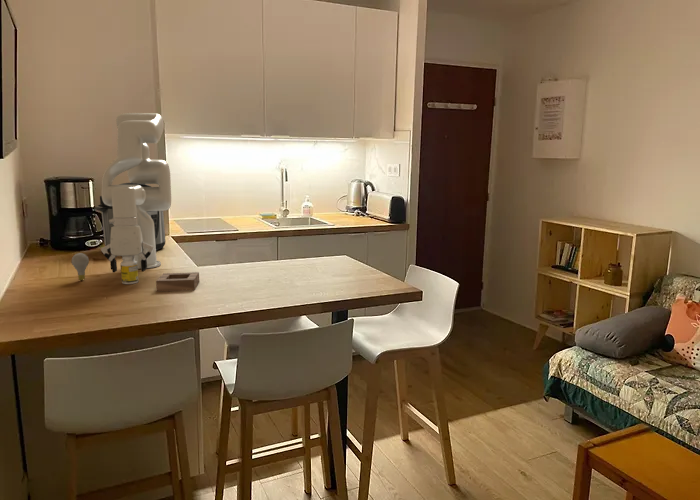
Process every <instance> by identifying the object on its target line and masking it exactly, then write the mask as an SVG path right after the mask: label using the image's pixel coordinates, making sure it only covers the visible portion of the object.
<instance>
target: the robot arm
mask: <svg viewBox="0 0 700 500" xmlns="http://www.w3.org/2000/svg"><path fill="white" fill-rule="evenodd" d="M115 123H116V127H117V138H116V139H117V140H116V142H117V145H116V147H117V148H116V158H115V159H114V160H112V162H111V163H110V164H109V165H107V167H106V169H105V171H104V172H103V175H102V178H101V196H102V200H103V202H104V204H106V205H107V206H113V217H114V218H113V219H110V220H109V223H112V224H113V225H114V227H112V228H111V239H110V244H109V245H107V246H105V245H104V246H103V247H101V248H100V250H101V252H102V253H103V255H104V257H105V258H106V259H108V261H109V263H110V270H111V272H112V273H116V272H117V271H118V263H117V259H116V257H122V256H134V258H135V259H134V261H136V262H137V269H138V270H140V269H141V272H145V271H146V269H153V268H158V267H160V266H161V265H162V263H161V261H159V260H157V250H156V244H155V230H154V222H153V219H152V218H151V217H150V216H149V215H148V214H147V213H146V212H147V211H163V212H164V211H168V210H169V209H171V207H172V185H171V181H172V179H171V171H170V165H169V163H168V162H167V161H166V160H163V159H151V158H150V157H151V156H150V154H151V153H150V152H151V151H150V146H149V145H148V144H158V143H159V142H160V140H161V137H162V135H163V133H164V128H165V123H164V118H163V116H162V115H161V114H159V113H155V112H150V113H149V112H144V113H143V112H126V113H120V114H119V115H117V116H116V118H115ZM125 172H127V178H128V181H129V183H135V184H146V185H151V184H152V185H154V184H155V185H158V186H151V187H141V186H140V185H119V184H113V181H114V180H115V178H116V177H118V176H119V175H120V174H122V173H125ZM109 248H111V252H109V251H108V250H107V249H109Z"/></svg>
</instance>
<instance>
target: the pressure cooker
mask: <svg viewBox="0 0 700 500" xmlns="http://www.w3.org/2000/svg"><path fill="white" fill-rule="evenodd" d="M118 185H140V186H141V187H152V186H151V185H150V184H135V183H132V182H124V183H120V184H118ZM99 203H100V204H98V205H97V206H94V210H95V211H99V212H101V219H102V220H101V221H102V222H101V223H102V229H103V230H102V231H103V241H104V247H105V246H107V245H109V244H110V239H111V228H112V227H114V225H113V224H112V223H109V220H110V219H113V218H114V217H113V206H107V205H106V204H104V202H103V200H102V195H100V196H99ZM146 213H147V214H148V215H149V216H150V217H151V218H152V219H153V222H154V230H155V244H156V251H157V250H161V249H163V248H164V246H165V245H166V231H165V217H164V216H165V215H164V211H147V212H146ZM107 252H108V253H111V248H109V249H107Z"/></svg>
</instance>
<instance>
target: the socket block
mask: <svg viewBox="0 0 700 500" xmlns="http://www.w3.org/2000/svg"><path fill="white" fill-rule="evenodd" d="M199 284H200V272H199V271H197V272H196V271H195V272H172V273H171V272H167V273H166V272H165V273H162V274H161V275H160V276H159V277H158V278H157V279H156V280H155V285H156V293H157V292H159V293H160V292H178V291H179V292H181V291H182V292H184V291H195V290H196V289H197V287H198V285H199Z"/></svg>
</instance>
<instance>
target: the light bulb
mask: <svg viewBox="0 0 700 500" xmlns="http://www.w3.org/2000/svg"><path fill="white" fill-rule="evenodd" d="M89 263H90V261H89V256H88V255H87V254H86V253H82V252H78V253H75V254H74V255H73V256H72V257H71V265H72V266H73V267H74V269H75V270H76V271H77V275H78V276H77V277H78V280H79V281H81V280H83V279H84V280H85V279H86V269H87V267H88V266H89ZM84 280H83V281H84Z"/></svg>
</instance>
